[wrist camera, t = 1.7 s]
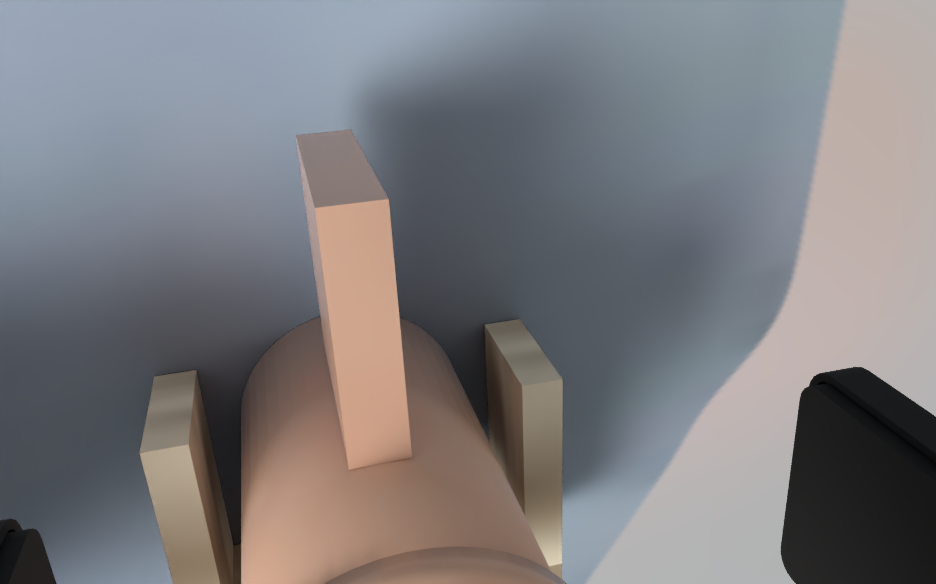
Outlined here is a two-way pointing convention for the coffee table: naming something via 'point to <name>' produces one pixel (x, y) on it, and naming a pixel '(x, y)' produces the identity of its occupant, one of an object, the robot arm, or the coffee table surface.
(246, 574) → the peach cylinder
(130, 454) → the coffee table surface
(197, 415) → the holder
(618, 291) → the coffee table surface
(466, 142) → the coffee table surface
